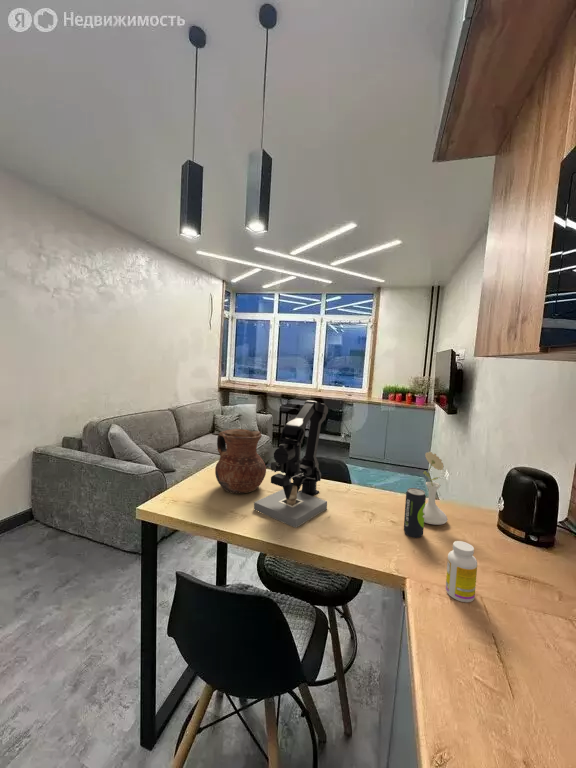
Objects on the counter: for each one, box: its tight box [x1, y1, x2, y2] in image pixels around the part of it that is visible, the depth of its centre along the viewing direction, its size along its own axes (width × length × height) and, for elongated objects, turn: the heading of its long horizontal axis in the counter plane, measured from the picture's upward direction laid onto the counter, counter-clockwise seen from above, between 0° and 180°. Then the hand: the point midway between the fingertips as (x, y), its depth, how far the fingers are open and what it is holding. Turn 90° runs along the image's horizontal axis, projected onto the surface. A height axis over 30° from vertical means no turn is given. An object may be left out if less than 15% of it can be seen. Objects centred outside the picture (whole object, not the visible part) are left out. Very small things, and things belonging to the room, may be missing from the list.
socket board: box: [253, 488, 328, 529], centre depth 130 cm, size 20×20×3 cm
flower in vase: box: [422, 451, 448, 526], centre depth 125 cm, size 13×11×25 cm
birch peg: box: [286, 485, 297, 506], centre depth 130 cm, size 4×4×8 cm
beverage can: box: [403, 487, 427, 539], centre depth 114 cm, size 6×6×15 cm
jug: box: [214, 428, 267, 494], centre depth 148 cm, size 22×21×25 cm
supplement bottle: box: [445, 540, 478, 603], centre depth 85 cm, size 7×7×13 cm
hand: (291, 496), depth 130 cm, fingers closed on birch peg, 4 cm apart
